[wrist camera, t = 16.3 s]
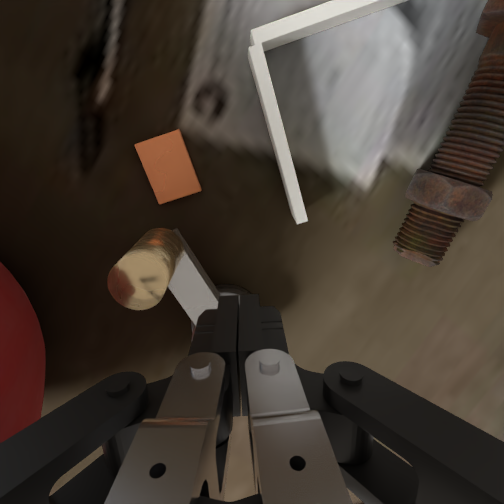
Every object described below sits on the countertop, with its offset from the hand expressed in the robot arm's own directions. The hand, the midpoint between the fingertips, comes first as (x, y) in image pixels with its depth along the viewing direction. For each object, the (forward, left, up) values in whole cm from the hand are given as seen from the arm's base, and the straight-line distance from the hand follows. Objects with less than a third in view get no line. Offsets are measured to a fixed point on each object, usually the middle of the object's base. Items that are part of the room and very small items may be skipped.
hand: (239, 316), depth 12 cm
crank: (-3, +4, -9) cm, 10 cm away
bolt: (+2, -15, -12) cm, 19 cm away
